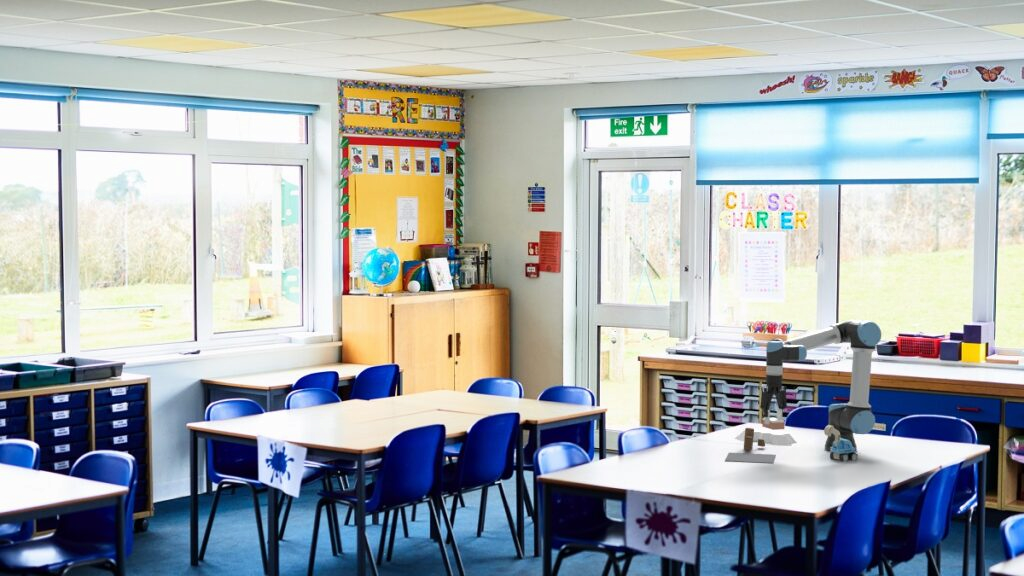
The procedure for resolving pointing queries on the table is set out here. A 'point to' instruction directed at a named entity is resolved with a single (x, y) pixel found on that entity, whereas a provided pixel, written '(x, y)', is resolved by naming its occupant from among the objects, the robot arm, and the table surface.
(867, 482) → the table surface
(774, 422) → the card deck
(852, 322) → the robot arm
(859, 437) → the table surface
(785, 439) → the paper sheets
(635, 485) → the table surface
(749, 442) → the wooden block set
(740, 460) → the rubber mat
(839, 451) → the toy excavator
